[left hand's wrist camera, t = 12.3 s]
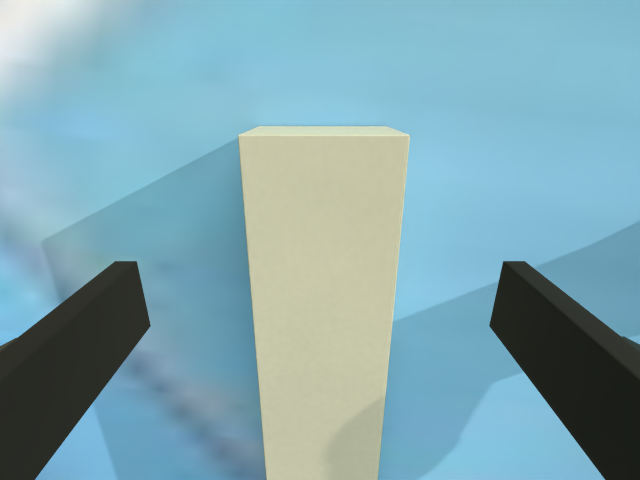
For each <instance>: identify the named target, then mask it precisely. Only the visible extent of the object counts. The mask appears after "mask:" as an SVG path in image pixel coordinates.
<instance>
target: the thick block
mask: <svg viewBox="0 0 640 480" xmlns="http://www.w3.org/2000/svg"><path fill="white" fill-rule="evenodd" d="M409 140H410V135H407V134H405V133H402V132H400V131H397V130H395V129H392V128H389V127H387V126H259V127H256V128H254V129H252V130H249V131H247V132H244V133H242V134H240V135H238V142H239V154H240V166H241V178H242V190H243V202H244V214H245V226H246V238H247V250H248V262H249V275H250V287H251V299H252V311H253V323H254V335H255V347H256V359H257V371H258V383H259V395H260V408H261V420H262V432H263V444H264V456H265V468H266V480H378V471H379V460H380V449H381V439H382V428H383V417H384V407H385V396H386V385H387V375H388V364H389V353H390V343H391V332H392V321H393V310H394V300H395V289H396V278H397V268H398V257H399V246H400V236H401V225H402V214H403V204H404V193H405V182H406V172H407V161H408V150H409Z"/></svg>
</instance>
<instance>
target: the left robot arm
mask: <svg viewBox="0 0 640 480" xmlns="http://www.w3.org/2000/svg"><path fill="white" fill-rule="evenodd" d="M149 327H150V321H149V316H148V312H147V307H146V303H145V298H144V293H143V289H142V284H141V279H140V275H139V270H138V265H137V261H115V262H114V263H113V264H111V265H110V266H109V267H107V268H106V269H105V270H104V271H102V272H101V273H100V274H98V275H97V276H96V277H95V278H93V279H92V280H91V281H90V282H88V283H87V284H86V285H84V286H83V287H82V288H81V289H79V290H78V291H77V292H76V293H74V294H73V295H72V296H70V297H69V298H68V299H67V300H65V301H64V302H63V303H61V304H60V305H59V306H58V307H56V308H55V309H54V310H53V311H51V312H50V313H49V314H47V315H46V316H45V317H44V318H42V319H41V320H40V321H38V322H37V323H36V324H35V325H33V326H32V327H31V328H30V329H28V330H27V331H26V332H24V333H23V334H22V335H21V336H19V337H18V338H15V339H13V340H11V341H9V342H7V343H6V344H4V345H2V346H0V480H35V479H36V477H37V476H38V475H39V473H40V472H41V471H42V469H43V468H44V467H45V465H46V464H47V463H48V461H49V460H50V459H51V457H52V456H53V455H54V453H55V452H56V451H57V449H58V448H59V447H60V445H61V444H62V443H63V441H64V440H65V439H66V437H67V436H68V435H69V433H70V432H71V431H72V429H73V428H74V427H75V425H76V424H77V423H78V421H79V420H80V419H81V417H82V416H83V415H84V414H85V412H86V411H87V410H88V408H89V407H90V406H91V404H92V403H93V402H94V400H95V399H96V398H97V396H98V395H99V394H100V392H101V391H102V390H103V388H104V387H105V386H106V384H107V383H108V382H109V380H110V379H111V378H112V376H113V375H114V374H115V372H116V371H117V370H118V368H119V367H120V366H121V364H122V363H123V362H124V360H125V359H126V358H127V356H128V355H129V354H130V352H131V351H132V350H133V348H134V347H135V346H136V345H137V343H138V342H139V341H140V339H141V338H142V337H143V335H144V334H145V333H146V331H147V330H148V329H149ZM490 327H491V329H492V330H493V331H494V333H495V334H496V335H497V337H498V338H499V339H500V341H501V342H502V343H503V345H504V346H505V347H506V348H507V350H508V351H509V352H510V354H511V355H512V356H513V358H514V359H515V360H516V362H517V363H518V364H519V366H520V367H521V368H522V370H523V371H524V372H525V374H526V375H527V376H528V378H529V379H530V380H531V382H532V383H533V384H534V386H535V387H536V388H537V390H538V391H539V392H540V394H541V395H542V396H543V398H544V399H545V400H546V402H547V403H548V404H549V406H550V407H551V408H552V410H553V411H554V412H555V414H556V415H557V416H558V417H559V419H560V420H561V421H562V423H563V424H564V425H565V427H566V428H567V429H568V431H569V432H570V433H571V435H572V436H573V437H574V439H575V440H576V441H577V443H578V444H579V445H580V447H581V448H582V449H583V451H584V452H585V453H586V455H587V456H588V457H589V459H590V460H591V461H592V463H593V464H594V465H595V467H596V468H597V469H598V471H599V472H600V473H601V475H602V476H603V477H604V479H605V480H640V345H639V344H637V343H635V342H634V341H632V340H630V339H628V338H626V337H621V336H619V335H618V334H617V333H616V332H614V331H613V330H612V329H610V328H609V327H608V326H607V325H605V324H604V323H603V322H602V321H600V320H599V319H598V318H596V317H595V316H594V315H593V314H591V313H590V312H589V311H587V310H586V309H585V308H584V307H582V306H581V305H580V304H579V303H577V302H576V301H575V300H573V299H572V298H571V297H570V296H568V295H567V294H566V293H564V292H563V291H562V290H561V289H559V288H558V287H557V286H556V285H554V284H553V283H552V282H550V281H549V280H548V279H547V278H545V277H544V276H543V275H542V274H540V273H539V272H538V271H536V270H535V269H534V268H533V267H531V266H530V265H529V264H527V263H526V262H525V261H503V265H502V270H501V275H500V279H499V284H498V289H497V293H496V298H495V302H494V307H493V312H492V316H491V321H490Z"/></svg>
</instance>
